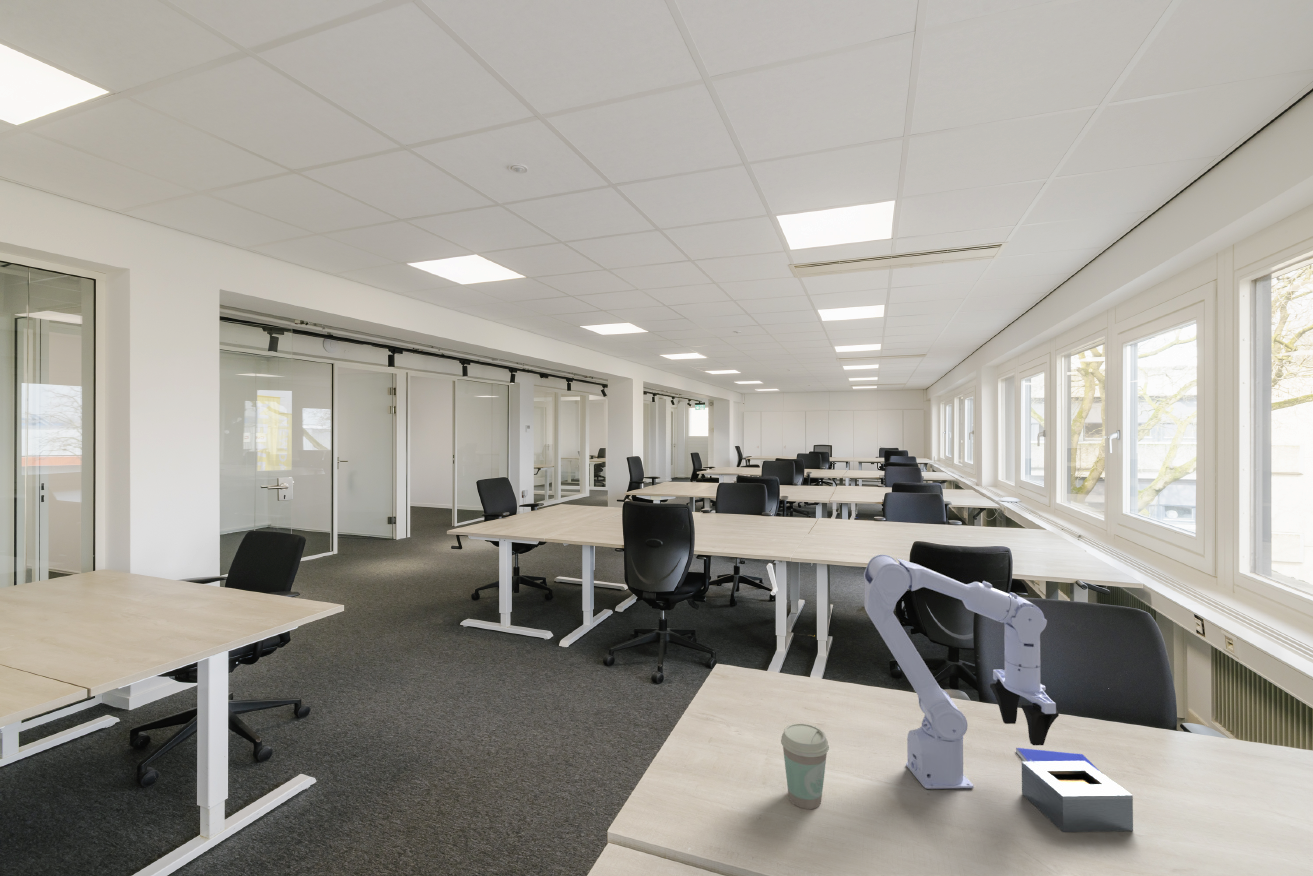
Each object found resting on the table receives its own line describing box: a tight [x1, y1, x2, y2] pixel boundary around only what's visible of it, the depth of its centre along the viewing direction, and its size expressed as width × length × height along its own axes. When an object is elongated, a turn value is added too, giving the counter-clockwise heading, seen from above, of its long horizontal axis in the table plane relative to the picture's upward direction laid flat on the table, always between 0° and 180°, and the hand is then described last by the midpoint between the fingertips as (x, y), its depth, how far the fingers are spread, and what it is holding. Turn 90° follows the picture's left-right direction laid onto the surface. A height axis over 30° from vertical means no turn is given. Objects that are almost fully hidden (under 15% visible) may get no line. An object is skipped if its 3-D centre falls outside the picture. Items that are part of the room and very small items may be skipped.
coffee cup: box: [780, 722, 830, 810], centre depth 100 cm, size 8×8×12 cm
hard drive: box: [1015, 747, 1100, 771], centre depth 110 cm, size 2×8×12 cm
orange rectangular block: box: [1058, 780, 1089, 785], centre depth 96 cm, size 5×2×4 cm, turn 90°
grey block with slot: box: [1021, 760, 1134, 833], centre depth 96 cm, size 12×10×6 cm
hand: (1022, 733), depth 104 cm, fingers open, 7 cm apart
